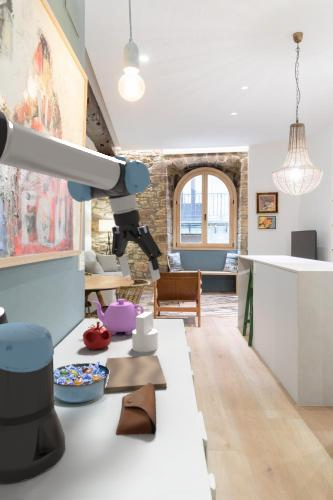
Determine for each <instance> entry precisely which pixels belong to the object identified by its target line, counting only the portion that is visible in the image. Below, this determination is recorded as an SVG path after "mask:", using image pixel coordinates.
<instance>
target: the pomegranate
mask: <svg viewBox="0 0 333 500" xmlns="http://www.w3.org/2000/svg"><path fill="white" fill-rule="evenodd" d="M110 332H111V331H109V330H107V329H106V328H105V327H104V325H103V324H102V325H101V321H96V325H95V324H91V325H90V326H89V327H87V330H85V331H84V332H83V333H82V341H83V344H84V345H85V347H86V348H87V349H89V350H92V351H95V350H103V349H106V348H107V347H109V345H110V344H111V341H112V335H111V333H110Z"/></svg>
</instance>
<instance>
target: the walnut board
mask: <svg viewBox="0 0 333 500" xmlns="http://www.w3.org/2000/svg"><path fill="white" fill-rule="evenodd" d="M106 367H107V368H108V369H109V370H110V374H109V379H108V382H107V386H106V388H105V387H104V393H114V392H126V391H127V392H129V391H136V390H138V389H141V388H142V387H143V386H145V385H146V384H148V383H151V384H153V386H154V388H155V390H156V389H166V388H167V386H168V385H167V384H168V383H167V381H166V377H165V375H164V372H163V368H162V365H161V362H160V359H159V356H158V355H157V354H154V355H141V356H140V355H139V356H123V357H107V358H106Z"/></svg>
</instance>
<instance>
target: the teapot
mask: <svg viewBox="0 0 333 500" xmlns="http://www.w3.org/2000/svg"><path fill="white" fill-rule="evenodd" d="M92 302H93V303H94V304H95V306H96V313H97V317H98V320H99V322H100V323H101V322H102V326H103V325H104V326H103V328H104V329H107V330H109V331H110V333H111V336H115V335H117V333H125V335H127V336H130V335H131V336H132V331H133V330H135V329H136V317H137V316H139V315H140V314H142V313H144V312H145V311H144V310H145V309H144V307H143V305H142V304H139V303H135V304H133V303H132V302H130V301H126V299H125V298H118V299H117V301H115V302H112V303H110V304H109V305H108V307H107V309H106V310H105V312H103V311H102V305H101V303H100V302H99V301H97V300H92ZM137 307H138V308H140V313H139V311H138V309H137Z"/></svg>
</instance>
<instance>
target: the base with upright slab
mask: <svg viewBox="0 0 333 500" xmlns="http://www.w3.org/2000/svg"><path fill="white" fill-rule="evenodd" d="M131 332H132V335H131V336H132V338H131V339H132V341H131V342H132V344H131V345H132V350H133V351H135V352H137V353H150V352H154V351H156V350H158V347H159V343H158V342H159V341H158V339H159V338H158V330H157V329H156V328H154V311H153V312H152V311H143V313H142V314H141V313H139V316H137V317H136V329H135V330H132V331H131Z"/></svg>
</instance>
